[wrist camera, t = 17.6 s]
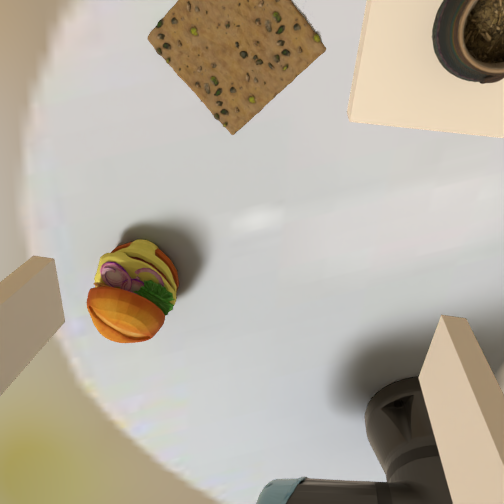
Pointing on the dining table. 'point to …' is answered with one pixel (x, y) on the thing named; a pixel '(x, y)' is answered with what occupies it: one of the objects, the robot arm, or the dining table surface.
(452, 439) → the robot arm
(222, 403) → the dining table surface
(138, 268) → the cheeseburger
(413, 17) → the cream square slab
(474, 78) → the mate gourd
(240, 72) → the cookie
